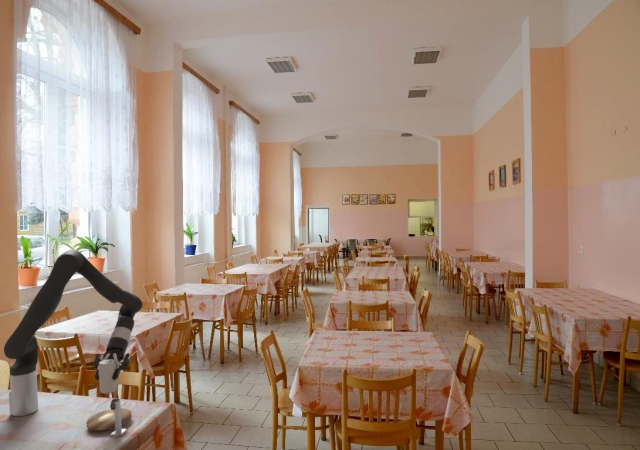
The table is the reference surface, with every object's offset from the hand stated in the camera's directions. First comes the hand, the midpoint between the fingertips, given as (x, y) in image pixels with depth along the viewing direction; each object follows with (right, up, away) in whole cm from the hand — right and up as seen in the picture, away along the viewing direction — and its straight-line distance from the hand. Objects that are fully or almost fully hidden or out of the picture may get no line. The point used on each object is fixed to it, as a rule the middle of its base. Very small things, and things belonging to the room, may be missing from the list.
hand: (105, 379), depth 169 cm
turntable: (+1, -17, +2) cm, 17 cm away
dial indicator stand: (+8, -18, -7) cm, 21 cm away
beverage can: (0, -5, +2) cm, 6 cm away
